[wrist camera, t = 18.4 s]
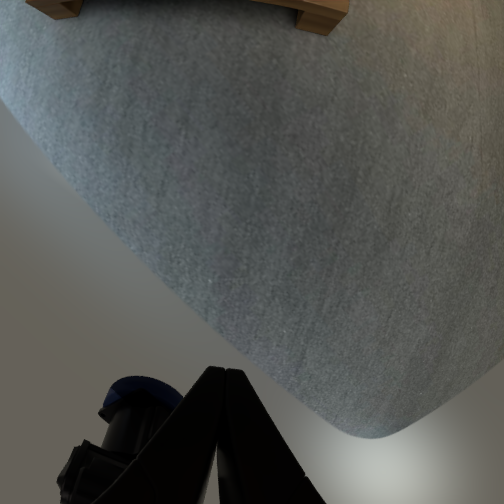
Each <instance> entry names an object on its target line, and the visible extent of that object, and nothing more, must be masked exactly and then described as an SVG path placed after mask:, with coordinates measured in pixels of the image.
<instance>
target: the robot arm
mask: <svg viewBox="0 0 504 504" xmlns="http://www.w3.org/2000/svg"><path fill="white" fill-rule="evenodd" d="M141 393H142V394H141ZM98 414H99V416H100V417H101V418H102V419H104V420H105V421H106V422H107V423H108V424H109V427H108V430H107V433H106V435H105V438H104V441H103V444H102V446H101V448H100V447H98V446H96V445H93V444H91V443H90V442H89V441H87V440H85V439H84V441H83V443H82V445H81V446H80V445H79V446H78V447H74V449H73V451H72V453H71V456H70V458H69V460H68V462H67V464H66V465H65V467H64V468H63V470H62V471H61V473H60V474H59V476H58V478H57V484H58V486H59V488H60V490H61V491H60V495H61V501H60V504H203V502H204V498H205V494H206V490H207V485H208V482H209V477H210V473H211V469H212V465H213V461H214V456H215V452H216V446H217V467H218V484H219V499H220V504H326V503H325V501H324V500H323V499H322V497H321V496H320V494H319V493H318V492H317V490H316V489H315V487H314V486H313V484H312V483H311V481H310V480H309V478H308V477H307V476H305V472H304V471H303V469H302V468H301V466H300V465H299V463H298V461H297V460H296V458H295V457H294V455H293V453H292V452H291V450H290V449H289V447H288V445H287V444H286V442H285V441H284V439H283V437H282V436H281V434H280V432H279V431H278V429H277V427H276V426H275V424H274V422H273V421H272V419H271V417H270V416H269V414H268V413H267V411H266V409H265V407H264V406H263V404H262V402H261V401H260V399H259V397H258V395H257V394H256V392H255V390H254V389H253V387H252V385H251V383H250V382H249V380H248V378H247V376H246V375H245V373H244V371H243V370H239V369H231V368H228V369H226V371H225V369H224V368H223V367H216V366H209V367H207V368H206V370H205V371H204V372H203V374H202V375H201V376H200V377H199V379H198V380H197V381H196V383H195V384H194V385H193V386H192V388H191V389H190V390H189V392H188V393H187V394H186V395H185V397H184V398H183V399H182V400H181V402H180V403H179V404H178V406H177V407H176V408H175V409H174V411H173V412H171V411H170V410H169V409H168V408H166V407H165V406H164V405H163V404H162V403H161V402H159V401H158V400H157V399H156V398H155V397H154V396H153V395H151V394H150V393H149V392H148V391H147V390H146V389H144V388H138V389H136V390H135V391H133V392H131V393H129V394H127V395H125V396H124V397H122V398H120V399H118V400H116V401H114V402H113V403H111V404H109V405H107V406H105V407H103V408H101V409H100V410H99V412H98ZM304 476H305V477H304Z"/></svg>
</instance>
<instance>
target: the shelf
mask: <svg viewBox="0 0 504 504" xmlns="http://www.w3.org/2000/svg"><path fill="white" fill-rule="evenodd" d="M251 1H257V2H263V3H269V4H275V5H280V6H285V7H290V8H294V9H298V15H297V20H296V26H295V28H297V29H301V30H305V31H309V32H313V33H317V34H321V35H325V36H328V34H329V33H330V32H331V31H332V30H333V29H334V28H335V27H336V25H337V24H338V23H339V22H340V21H341V20H342V19H343V18H344V17H345V16H346V14H347V13H348V8H349V0H251ZM82 2H83V0H26V1H25V3H27V4H29V5H31V6H32V7H34V8H36V9H38V10H39V11H41V12H43V13H44V14H46V15H48V16H49V17H51V18H53V19H54V20H56V19H63V18H70V17H77V16H78V14H79V11H80V8H81V5H82Z"/></svg>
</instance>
